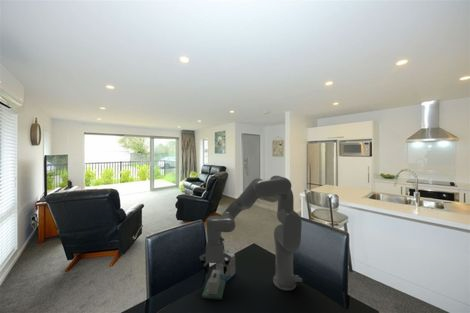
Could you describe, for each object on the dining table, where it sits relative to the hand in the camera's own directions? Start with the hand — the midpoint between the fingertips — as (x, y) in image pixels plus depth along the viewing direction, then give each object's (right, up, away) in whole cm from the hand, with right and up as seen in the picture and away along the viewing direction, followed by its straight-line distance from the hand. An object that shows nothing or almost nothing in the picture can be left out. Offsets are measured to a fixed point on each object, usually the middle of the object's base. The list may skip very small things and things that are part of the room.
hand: (216, 272), depth 91 cm
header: (-1, -9, 0) cm, 9 cm away
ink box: (+5, -9, +11) cm, 15 cm away
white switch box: (-1, -8, 0) cm, 8 cm away
